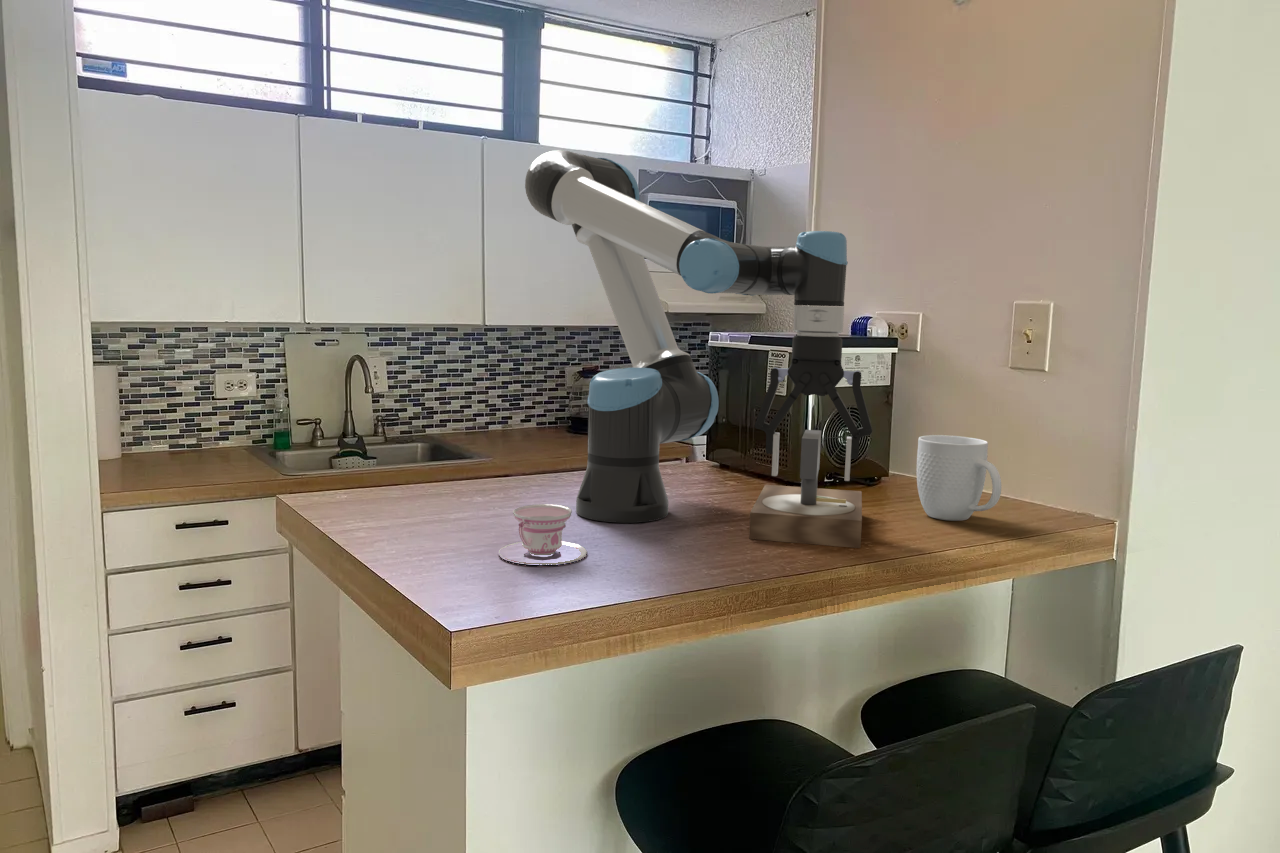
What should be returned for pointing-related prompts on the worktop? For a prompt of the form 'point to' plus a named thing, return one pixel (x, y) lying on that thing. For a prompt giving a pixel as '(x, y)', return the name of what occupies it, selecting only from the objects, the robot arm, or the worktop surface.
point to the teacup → (543, 530)
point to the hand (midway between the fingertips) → (810, 476)
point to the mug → (954, 476)
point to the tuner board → (807, 517)
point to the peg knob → (811, 468)
